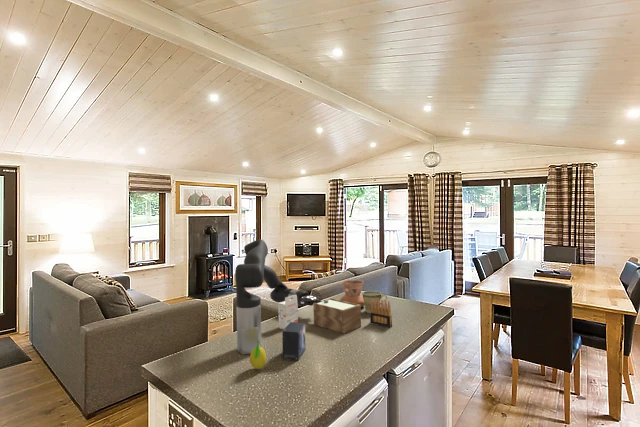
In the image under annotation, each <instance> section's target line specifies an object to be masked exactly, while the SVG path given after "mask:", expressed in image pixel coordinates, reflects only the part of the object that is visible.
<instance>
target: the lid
mask: <svg viewBox="0 0 640 427" xmlns="http://www.w3.org/2000/svg"><path fill="white" fill-rule="evenodd" d="M322 301H323V302H320V303H317V304H321V305H325V306H329V307H333V308H337V309H341V310H344V309H347V308H350V307H353V306H356V305H351V304H347V303H342V302H338V301H333V300H330V299H324V300H322Z"/></svg>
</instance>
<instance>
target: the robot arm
mask: <svg viewBox="0 0 640 427" xmlns="http://www.w3.org/2000/svg"><path fill="white" fill-rule="evenodd" d="M243 250H244V252H245V257H244V260H243V264H242V263H241V264H240V263H239V264H237V265H236V267H235V271H234V272H235V274H234V275H235V278H234V279H235V291H236V292H235V293H236V341H237V342H236V344H237V345H236V346H237V348H236V349H237V352H238V354H241V355H249V354H250V355H251V352H252V350H253V349H254V348H256V347H257V345H258V346H259V347H261V348H262V317H261V316H262V315H261V314H262V312H261V311H262V307H261V305H262V303H261V302H262V301H261V297H260V296H259V295H257V294H253V293H250V292H249V291H247V289H251V288H252V289H253V288H260V287H261V286H262V285H263V283H264V282H265V284H266V286H267V287H268V288H269V289H271V290H272V291H271V292H270V294H269V296H270V297H269V298H270V299H271V300H272V301H273V302H275V303H280V302H284V301H285V298H286V297H289V296H292V295H297V301H298V306H300V307H306V306H314V304H313V303H320V302H323V301H324V300H322V299H321V297H320V295H316V296H314V295H310V294H309V293H308V291H305V290H300V289H293V288H289V287H288V286H287V285H286V284H285V283H283V281H281V280H280V278H279V277H278V274H277V273H276V271H275V270H274V269H273V268H271V267H270V266H267V265H265V264H266V258H267V255H268V253H269V249H268V245H267V243H266V242H265V241H264V240H263V239H261V238H260V239H256V240H254V241H251V242H249V243H247V244H245V245H244V248H243ZM290 299H291V300H292V299H293V298H290ZM290 299H289V300H290ZM259 340H260V344H261V345H260V344H259V343H258V341H259Z"/></svg>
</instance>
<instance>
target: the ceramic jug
mask: <svg viewBox="0 0 640 427" xmlns="http://www.w3.org/2000/svg"><path fill="white" fill-rule="evenodd" d="M341 286H342V289H343V292H344V295H343V296H341V297H340V298H339V300H341V301H345V302H350V303H354V304H359V305H361V308H363V306H364V307H365V304H364V299H363V295H361V293H362V290H363V287H364V281H363V280H359V279H345V280H343V281H341Z"/></svg>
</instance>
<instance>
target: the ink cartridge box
mask: <svg viewBox="0 0 640 427" xmlns="http://www.w3.org/2000/svg"><path fill="white" fill-rule="evenodd" d="M290 298H293V299H292V300H291V299H290ZM289 299H290V300H289ZM298 306H299V305H298V301H297V295H292V296H289V297H286V298H285V301H284V302H277V310H278V329H281V330H284V329H285V328H286V327H287V325H288V324H289V323H290V322H295V323H299V307H298Z"/></svg>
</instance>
